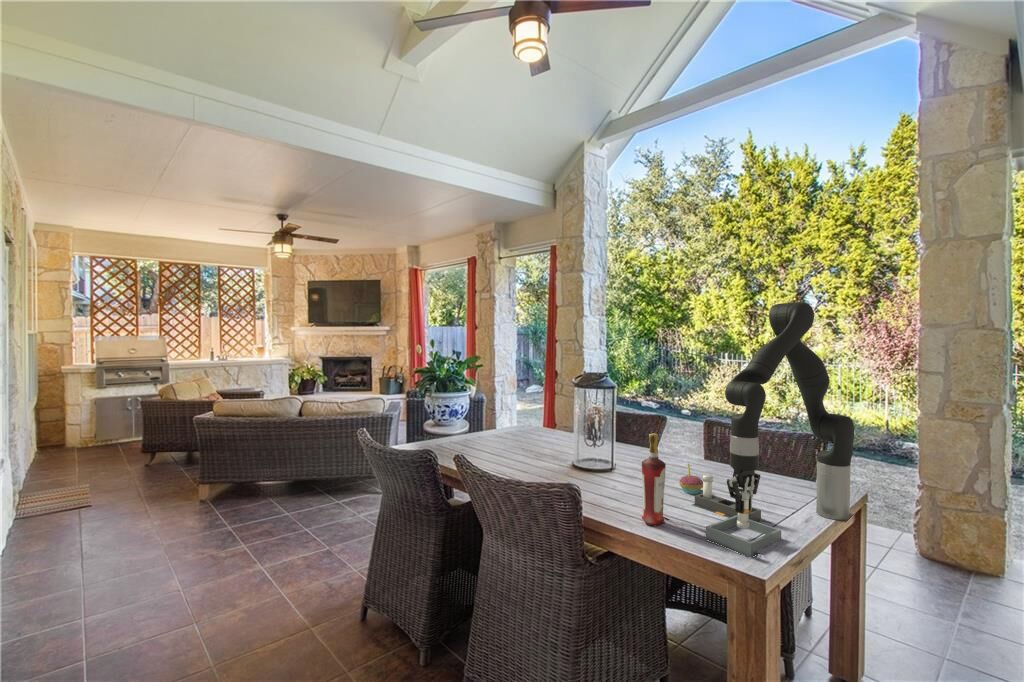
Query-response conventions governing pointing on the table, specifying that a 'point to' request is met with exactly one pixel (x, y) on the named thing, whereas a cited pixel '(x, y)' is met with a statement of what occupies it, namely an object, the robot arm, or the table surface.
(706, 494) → the cylinder
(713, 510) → the fuse block
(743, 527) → the cylinder
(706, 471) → the table surface
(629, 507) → the table surface
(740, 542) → the tray
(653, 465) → the liquor
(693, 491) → the cupcake
